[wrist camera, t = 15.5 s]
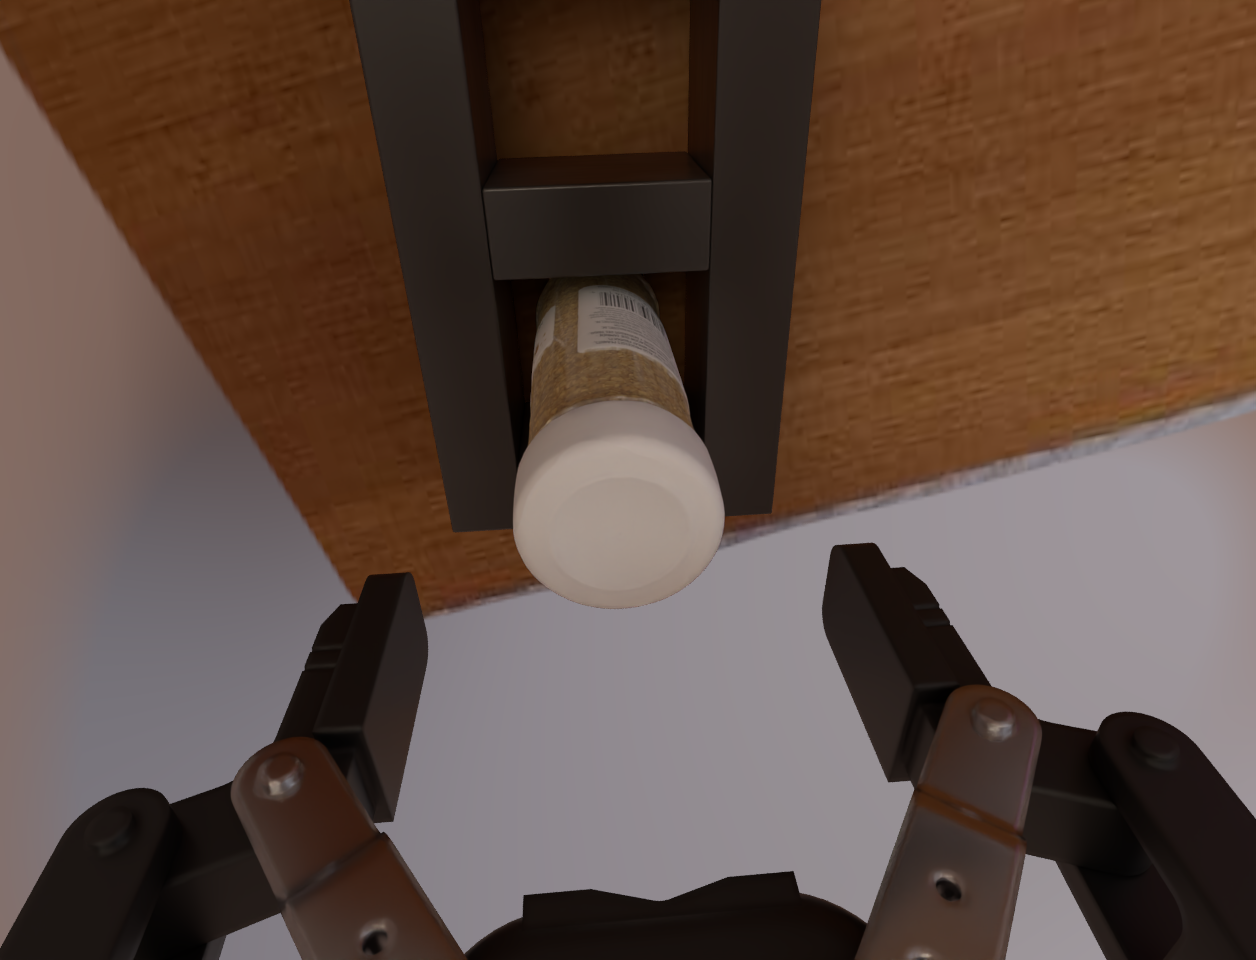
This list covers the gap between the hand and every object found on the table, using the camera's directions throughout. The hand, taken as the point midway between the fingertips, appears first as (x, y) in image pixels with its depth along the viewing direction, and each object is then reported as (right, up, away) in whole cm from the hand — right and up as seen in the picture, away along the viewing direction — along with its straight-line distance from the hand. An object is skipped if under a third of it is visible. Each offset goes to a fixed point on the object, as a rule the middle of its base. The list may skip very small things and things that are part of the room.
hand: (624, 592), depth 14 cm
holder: (-1, +12, +10) cm, 16 cm away
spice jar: (-1, +8, +13) cm, 15 cm away
